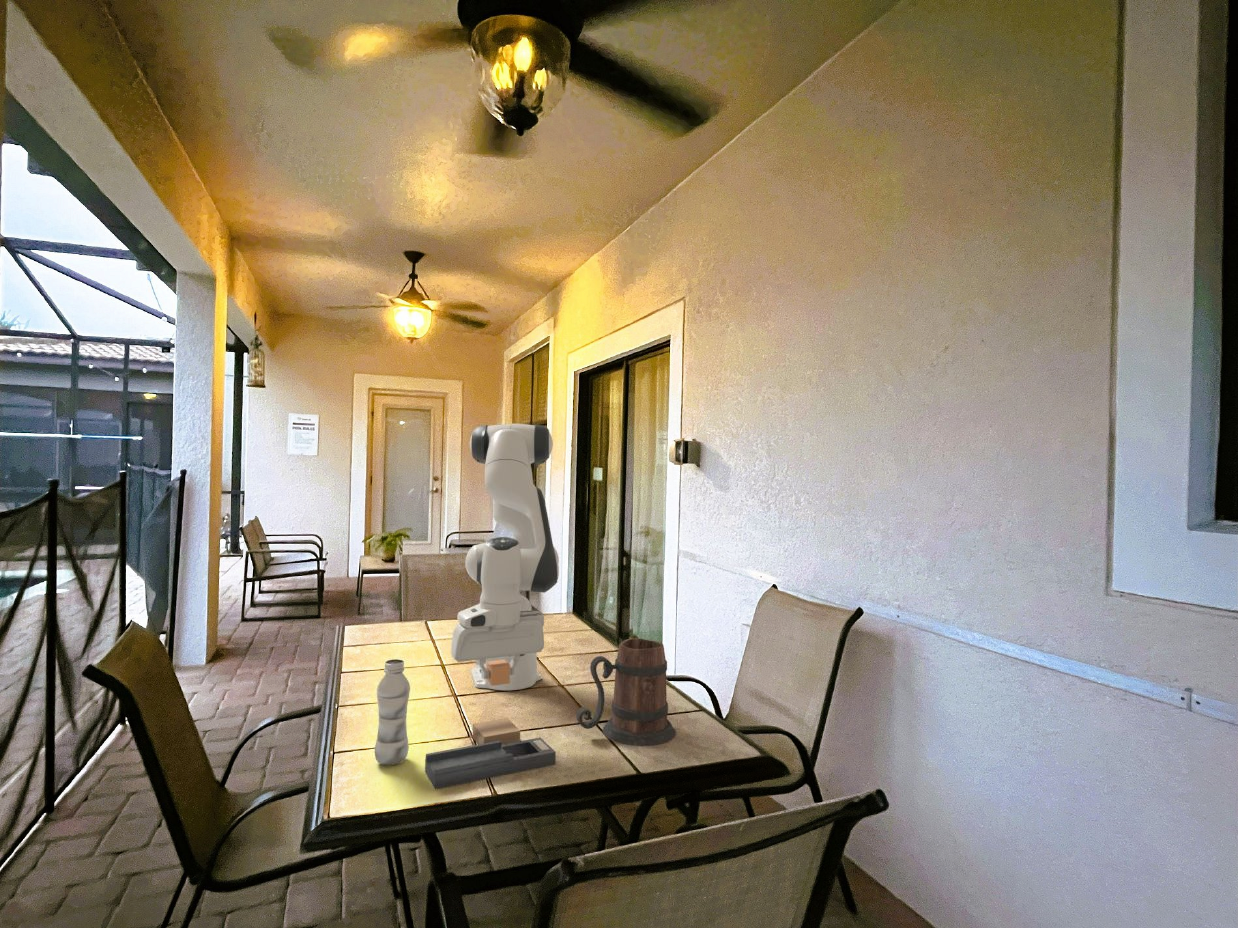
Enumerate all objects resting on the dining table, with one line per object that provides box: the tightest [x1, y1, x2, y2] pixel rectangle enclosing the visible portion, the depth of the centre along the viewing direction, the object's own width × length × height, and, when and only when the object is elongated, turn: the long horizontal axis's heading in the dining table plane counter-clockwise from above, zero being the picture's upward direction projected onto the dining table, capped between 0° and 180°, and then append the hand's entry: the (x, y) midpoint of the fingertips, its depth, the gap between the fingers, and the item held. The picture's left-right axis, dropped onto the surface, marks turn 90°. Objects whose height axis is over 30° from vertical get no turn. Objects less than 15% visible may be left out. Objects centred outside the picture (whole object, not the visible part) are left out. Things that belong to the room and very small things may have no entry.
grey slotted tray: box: [424, 737, 557, 790], centre depth 130 cm, size 8×24×4 cm, turn 119°
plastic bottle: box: [374, 658, 411, 766], centre depth 132 cm, size 6×7×20 cm
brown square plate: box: [472, 717, 521, 745], centre depth 143 cm, size 8×8×3 cm
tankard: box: [576, 637, 677, 747], centre depth 150 cm, size 24×17×20 cm
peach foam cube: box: [486, 660, 510, 686], centre depth 144 cm, size 4×4×4 cm
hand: (497, 676), depth 144 cm, fingers closed on peach foam cube, 4 cm apart
